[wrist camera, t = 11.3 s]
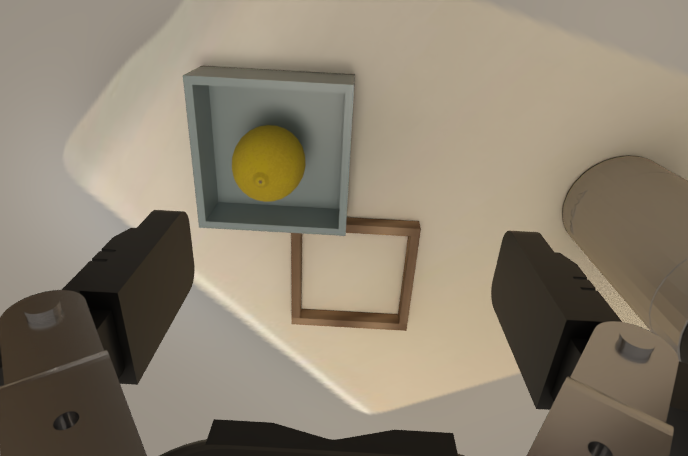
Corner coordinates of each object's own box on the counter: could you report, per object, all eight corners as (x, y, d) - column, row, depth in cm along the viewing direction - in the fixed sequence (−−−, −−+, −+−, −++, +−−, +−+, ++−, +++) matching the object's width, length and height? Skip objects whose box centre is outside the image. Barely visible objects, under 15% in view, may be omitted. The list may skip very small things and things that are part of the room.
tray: (418, 221, 43) (420, 229, 41) (405, 321, 48) (406, 330, 47) (293, 214, 43) (291, 221, 41) (293, 314, 48) (291, 324, 47)
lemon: (294, 187, 41) (282, 229, 34) (235, 161, 40) (209, 199, 33) (320, 131, 38) (312, 164, 31) (257, 102, 37) (235, 129, 30)
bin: (354, 74, 37) (354, 85, 33) (346, 212, 42) (345, 235, 38) (201, 65, 37) (182, 75, 33) (214, 205, 42) (199, 227, 38)
